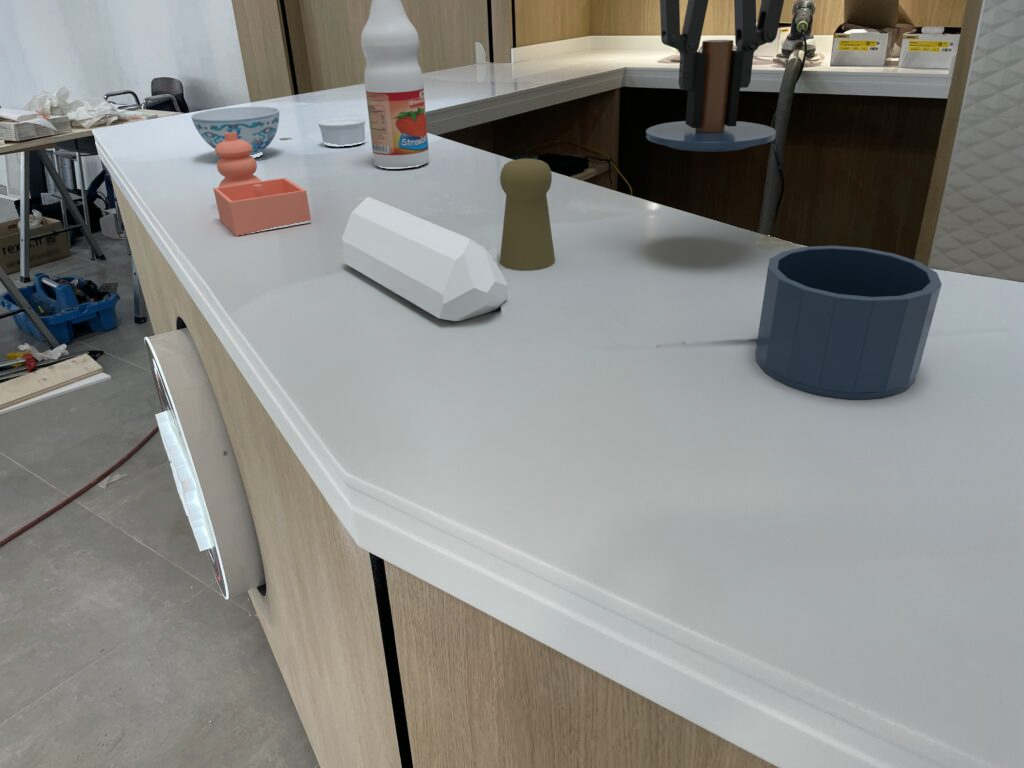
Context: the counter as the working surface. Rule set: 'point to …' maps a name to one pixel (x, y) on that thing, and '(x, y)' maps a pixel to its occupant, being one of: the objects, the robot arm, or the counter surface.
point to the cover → (713, 112)
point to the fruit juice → (394, 87)
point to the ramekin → (343, 130)
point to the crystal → (423, 262)
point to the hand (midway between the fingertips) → (710, 124)
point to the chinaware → (239, 125)
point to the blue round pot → (845, 320)
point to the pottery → (254, 192)
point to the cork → (526, 216)
